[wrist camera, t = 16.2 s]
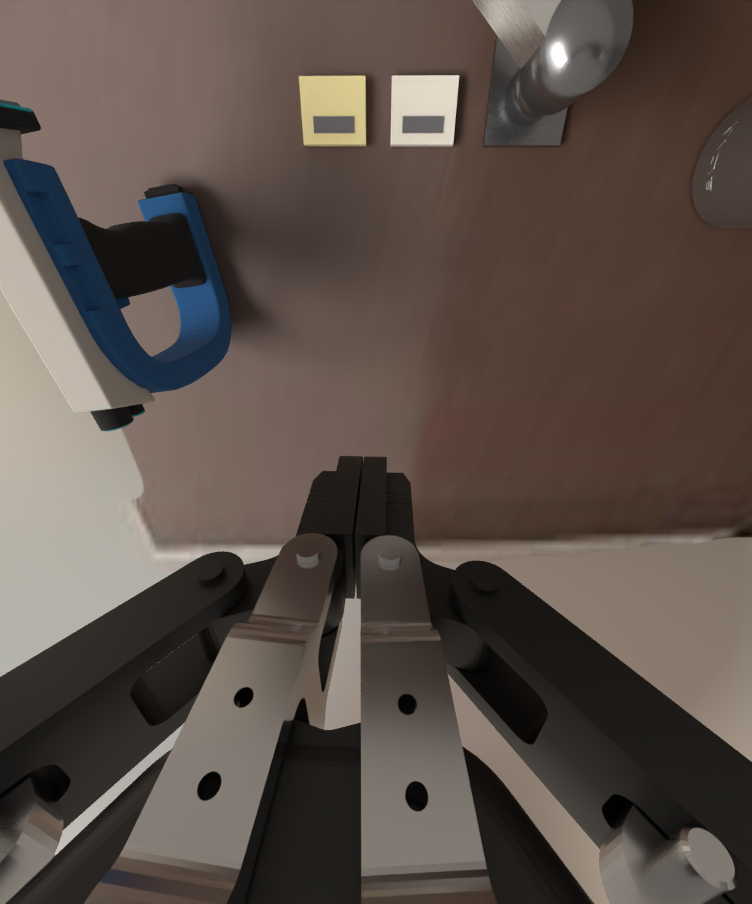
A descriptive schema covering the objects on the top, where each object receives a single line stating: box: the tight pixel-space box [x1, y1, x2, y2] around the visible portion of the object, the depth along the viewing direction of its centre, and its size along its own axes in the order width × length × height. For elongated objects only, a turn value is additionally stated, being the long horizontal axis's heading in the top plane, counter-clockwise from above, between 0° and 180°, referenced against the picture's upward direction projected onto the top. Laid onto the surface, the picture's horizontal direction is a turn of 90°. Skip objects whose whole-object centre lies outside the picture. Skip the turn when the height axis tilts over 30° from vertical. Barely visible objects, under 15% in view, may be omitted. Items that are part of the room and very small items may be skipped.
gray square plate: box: [483, 38, 568, 147], centre depth 26 cm, size 6×6×5 cm
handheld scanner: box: [0, 100, 231, 431], centre depth 27 cm, size 5×16×20 cm, turn 8°
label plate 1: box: [299, 76, 366, 147], centre depth 29 cm, size 5×4×1 cm
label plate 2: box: [391, 75, 459, 147], centre depth 29 cm, size 5×4×1 cm
